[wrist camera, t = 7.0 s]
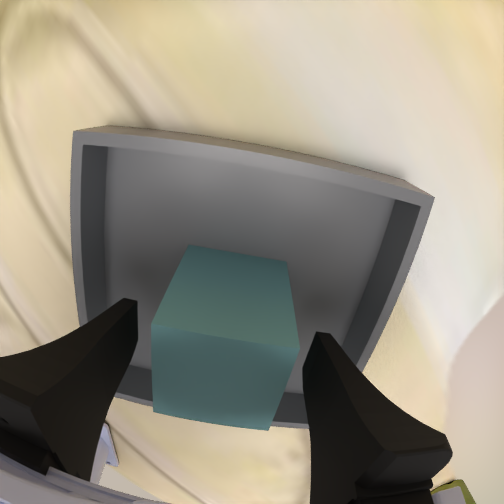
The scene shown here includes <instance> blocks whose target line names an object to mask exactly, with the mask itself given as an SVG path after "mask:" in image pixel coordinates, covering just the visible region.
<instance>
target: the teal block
mask: <svg viewBox="0 0 504 504" xmlns="http://www.w3.org/2000/svg"><path fill="white" fill-rule="evenodd" d="M299 350H300V345H299V338H298V331H297V325H296V318H295V312H294V305H293V299H292V293H291V287H290V280H289V274H288V268H287V262H286V261H280V260H274V259H268V258H263V257H257V256H251V255H245V254H240V253H234V252H228V251H223V250H217V249H211V248H205V247H200V246H194V245H188V247H187V249H186V251H185V253H184V255H183V257H182V260H181V262H180V264H179V266H178V268H177V270H176V272H175V274H174V276H173V278H172V280H171V282H170V284H169V286H168V288H167V291H166V293H165V295H164V297H163V299H162V301H161V303H160V305H159V308H158V310H157V312H156V314H155V316H154V318H153V321H152V323H151V366H152V395H153V412H156V413H160V414H165V415H169V416H174V417H179V418H184V419H189V420H195V421H200V422H206V423H212V424H219V425H225V426H233V427H240V428H248V429H257V430H267V431H268V430H269V428H270V425H271V423H272V421H273V418H274V416H275V413H276V411H277V408H278V406H279V403H280V401H281V398H282V395H283V393H284V390H285V388H286V385H287V382H288V380H289V377H290V375H291V372H292V369H293V366H294V364H295V361H296V358H297V356H298V353H299Z"/></svg>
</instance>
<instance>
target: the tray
mask: <svg viewBox="0 0 504 504" xmlns="http://www.w3.org/2000/svg"><path fill="white" fill-rule="evenodd" d="M434 198H435V197H433V196H432V195H430V194H428V193H426V192H425V191H423V190H421V189H419V188H418V187H416V186H414V185H412V184H410V183H409V182H407V181H405V180H402V179H398V178H395V177H392V176H388V175H385V174H381V173H378V172H374V171H371V170H367V169H363V168H360V167H356V166H352V165H348V164H344V163H340V162H336V161H332V160H328V159H324V158H319V157H315V156H311V155H306V154H302V153H297V152H292V151H288V150H283V149H278V148H273V147H268V146H262V145H257V144H252V143H246V142H240V141H234V140H228V139H222V138H216V137H209V136H202V135H195V134H187V133H180V132H171V131H163V130H153V129H143V128H133V127H120V126H107V125H106V126H100V127H93V128H87V129H81V130H76V131H73V141H72V157H71V185H70V216H71V244H72V260H73V273H74V284H75V293H76V302H77V310H78V317H79V324H80V327H81V326H83V325H84V324H86V323H87V322H89V321H91V320H92V319H94V318H95V317H97V316H98V315H100V314H101V313H102V312H104V311H105V310H107V309H108V308H109V307H111V306H112V305H114V304H115V303H117V302H118V301H120V300H121V299H123V298H127V299H132V300H136V301H138V342H137V345H136V348H135V351H134V354H133V357H132V360H131V362H130V364H129V366H128V368H127V370H126V372H125V374H124V377H123V379H122V381H121V383H120V385H119V387H118V389H117V391H116V393H115V395H114V397H117V398H120V399H124V400H128V401H132V402H135V403H139V404H143V405H147V406H152V407H153V395H152V366H151V323H152V321H153V318H154V316H155V314H156V312H157V310H158V308H159V305H160V303H161V301H162V299H163V297H164V295H165V293H166V291H167V288H168V286H169V284H170V282H171V280H172V278H173V276H174V274H175V272H176V270H177V268H178V266H179V264H180V262H181V260H182V257H183V255H184V253H185V251H186V249H187V247H188V245H194V246H200V247H205V248H211V249H217V250H223V251H228V252H234V253H240V254H245V255H251V256H257V257H263V258H268V259H274V260H280V261H286V262H287V268H288V274H289V280H290V287H291V293H292V299H293V305H294V312H295V318H296V325H297V331H298V338H299V345H300V350H299V353H298V356H297V358H296V361H295V364H294V366H293V369H292V372H291V375H290V377H289V380H288V382H287V385H286V388H285V390H284V393H283V395H282V398H281V401H280V403H279V406H278V408H277V411H276V413H275V416H274V418H273V421H272V423H271V425H270V426H276V427H288V428H303V429H309V425H308V419H307V413H306V406H305V400H304V394H303V382H302V367H303V364H304V362H305V359H306V356H307V354H308V351H309V349H310V346H311V343H312V341H313V338H314V335H315V333H316V331H317V332H325V333H330V334H331V335H332V336H333V337H334V339H335V340H336V341H337V342H338V344H339V345H340V346H341V348H342V349H343V350H344V352H345V353H346V354H347V355H348V357H349V358H350V359H351V361H352V362H353V363H354V364H355V365H356V367H357V368H358V369H359V370H360V371H361V372H363V370H364V368H365V366H366V364H367V362H368V360H369V358H370V356H371V354H372V352H373V350H374V348H375V346H376V344H377V342H378V340H379V338H380V336H381V334H382V332H383V330H384V328H385V326H386V323H387V321H388V319H389V317H390V315H391V312H392V310H393V308H394V306H395V303H396V301H397V299H398V297H399V294H400V292H401V289H402V287H403V285H404V282H405V280H406V277H407V275H408V272H409V270H410V267H411V265H412V262H413V260H414V257H415V254H416V252H417V249H418V246H419V243H420V241H421V238H422V235H423V232H424V229H425V226H426V223H427V220H428V217H429V214H430V211H431V208H432V205H433V202H434Z"/></svg>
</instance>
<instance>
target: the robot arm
mask: <svg viewBox="0 0 504 504" xmlns="http://www.w3.org/2000/svg"><path fill="white" fill-rule="evenodd" d="M137 342H138V301H136V300H132V299H127V298H123V299H121V300H120V301H118V302H117V303H115V304H114V305H112V306H111V307H109V308H108V309H107V310H105V311H104V312H102V313H101V314H100V315H98V316H97V317H95V318H94V319H92V320H91V321H89V322H87V323H86V324H84V325H83V326H81V327H79V328H78V329H76V330H74V331H73V332H71V333H69V334H67V335H65V336H63V337H61V338H59V339H57V340H55V341H53V342H50V343H48V344H45V345H42V346H40V347H37V348H34V349H32V350H29V351H25V352H22V353H18V354H14V355H10V356H5V357H0V504H170V503H165V502H159V501H153V500H148V499H144V498H140V497H136V496H133V495H129V494H125V493H122V492H118V491H115V490H112V489H109V488H106V487H102V486H99V485H98V484H99V481H100V477H101V475H102V471H103V469H104V466H105V463H106V464H109V465H112V466H118V465H119V462H118V458H117V455H116V452H115V448H114V445H113V441H112V438H111V434H110V430H109V427H108V425H107V424H106V423H104V422H105V418H106V415H107V412H108V409H109V407H110V404H111V402H112V399H113V397H114V395H115V393H116V391H117V389H118V387H119V385H120V383H121V381H122V379H123V377H124V374H125V372H126V370H127V368H128V366H129V364H130V362H131V360H132V357H133V354H134V351H135V348H136V345H137ZM302 382H303V394H304V400H305V406H306V413H307V419H308V425H309V431H310V440H311V490H310V504H466V502H465V499H464V496H463V494H462V491H461V488H460V487H459V486H457V487H454V488H450V489H446V490H442V491H439V492H436V493H434V494H432V495H431V493H430V489H431V488H432V487H433V482H432V479H431V478H433V477H434V476H435V475H436V474H437V473H438V472H439V471H440V470H442V469H443V468H444V467H445V466H446V465H447V464H448V462H449V461H450V459H451V457H452V453H453V452H452V449H451V447H450V445H449V442H448V440H447V437H446V435H445V434H443V433H441V432H439V431H437V430H435V429H433V428H431V427H429V426H427V425H425V424H423V423H422V422H420V421H418V420H417V419H415V418H413V417H412V416H410V415H409V414H407V413H406V412H404V411H403V410H402V409H400V408H399V407H398V406H396V405H395V404H394V403H392V402H391V401H390V400H389V399H388V398H386V397H385V396H384V395H383V394H382V393H381V392H380V391H379V390H378V389H377V388H376V387H375V386H374V385H373V384H372V383H371V382H370V381H369V380H368V379H367V378H366V377H365V376H364V375H363V374H362V372H361V371H360V370H359V369H358V368H357V367H356V365H355V364H354V363H353V362H352V361H351V359H350V358H349V357H348V355H347V354H346V353H345V352H344V350H343V349H342V348H341V346H340V345H339V344H338V342H337V341H336V340H335V339H334V337H333V336H332V335H331V334H330V333H325V332H317V331H316V333H315V335H314V338H313V341H312V343H311V346H310V349H309V351H308V354H307V356H306V359H305V362H304V364H303V367H302Z"/></svg>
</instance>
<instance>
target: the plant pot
mask: <svg viewBox="0 0 504 504" xmlns="http://www.w3.org/2000/svg"><path fill="white" fill-rule="evenodd" d="M457 486H459V487H460V488H461V491H462V494H463V496H464V499H465V502H466V504H476V503H475V501H474V499H473V497H472V495H471V494H470V492H469V490H468V488H467V486H466V485H465V483H464V481H463V480H455V481H453V482H452V483H451V484H445V485H442V486H440V487H438V488H437V489H435V490H433V491H431V492H430V493H431V495H432V494H434V493H436V492H439V491H442V490H446V489H450V488H454V487H457Z"/></svg>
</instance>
